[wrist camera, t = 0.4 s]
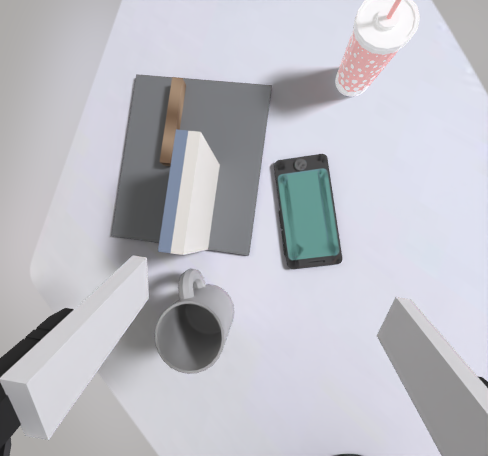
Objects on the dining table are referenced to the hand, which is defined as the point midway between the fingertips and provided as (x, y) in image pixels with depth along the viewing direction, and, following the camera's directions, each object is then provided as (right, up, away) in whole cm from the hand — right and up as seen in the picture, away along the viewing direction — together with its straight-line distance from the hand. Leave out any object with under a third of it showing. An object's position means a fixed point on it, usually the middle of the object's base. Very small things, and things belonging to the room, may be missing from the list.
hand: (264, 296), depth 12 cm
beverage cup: (+14, +24, +20) cm, 34 cm away
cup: (-6, -6, +20) cm, 22 cm away
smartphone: (+8, +6, +20) cm, 22 cm away
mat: (-9, +13, +21) cm, 26 cm away
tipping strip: (-11, +18, +21) cm, 30 cm away
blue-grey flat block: (-7, +7, +20) cm, 22 cm away
